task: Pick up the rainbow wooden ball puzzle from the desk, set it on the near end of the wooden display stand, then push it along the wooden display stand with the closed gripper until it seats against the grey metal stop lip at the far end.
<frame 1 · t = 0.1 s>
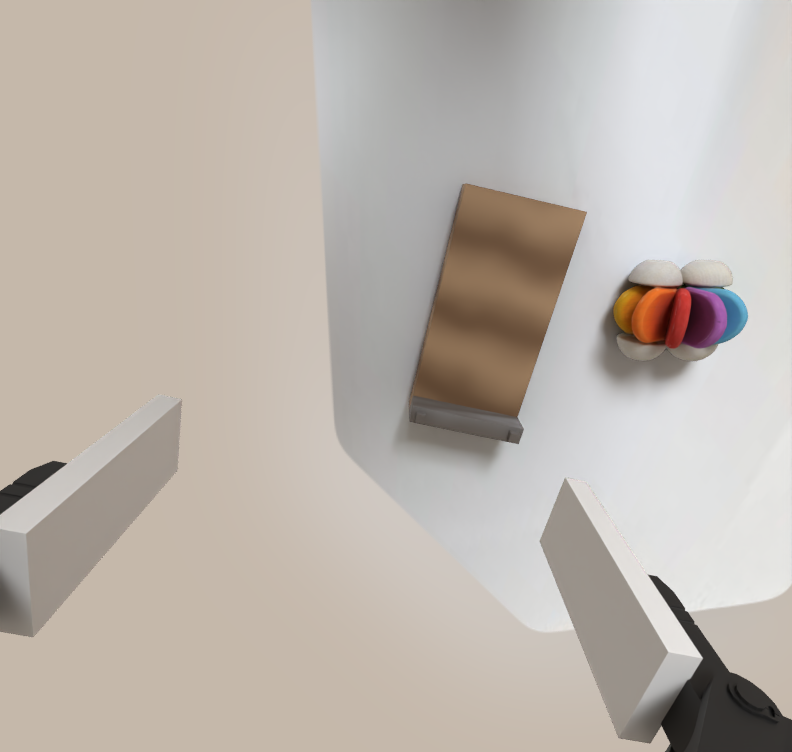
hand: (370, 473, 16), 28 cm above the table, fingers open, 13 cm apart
wooden display stand: (487, 313, 42), on the table
rainbow wooden ball puzzle: (659, 305, 42), on the table
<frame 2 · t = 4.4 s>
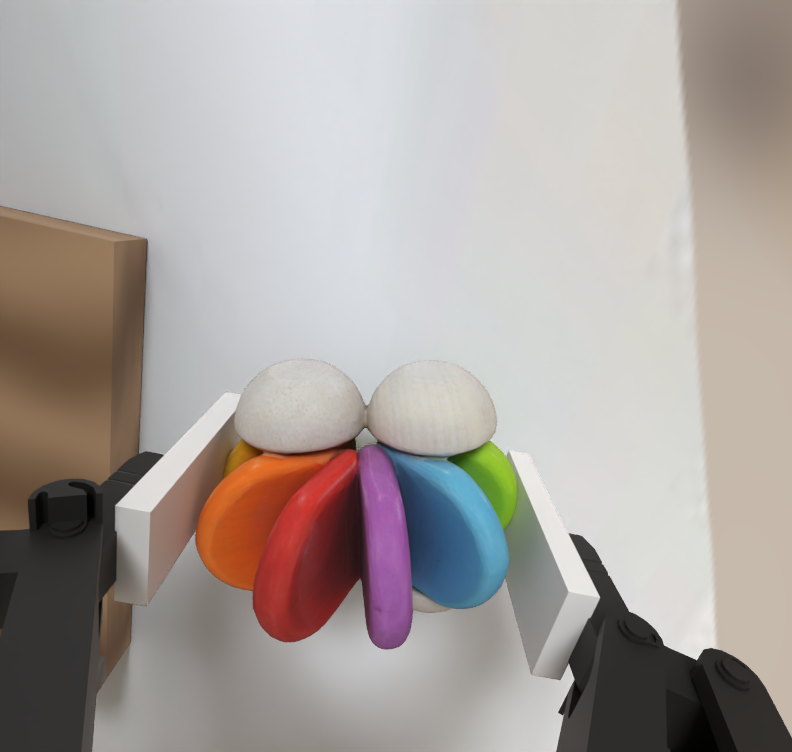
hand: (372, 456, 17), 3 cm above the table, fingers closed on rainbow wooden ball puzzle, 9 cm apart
wooden display stand: (20, 449, 20), on the table
rainbow wooden ball puzzle: (372, 454, 17), point 2 cm above the table, touching gripper
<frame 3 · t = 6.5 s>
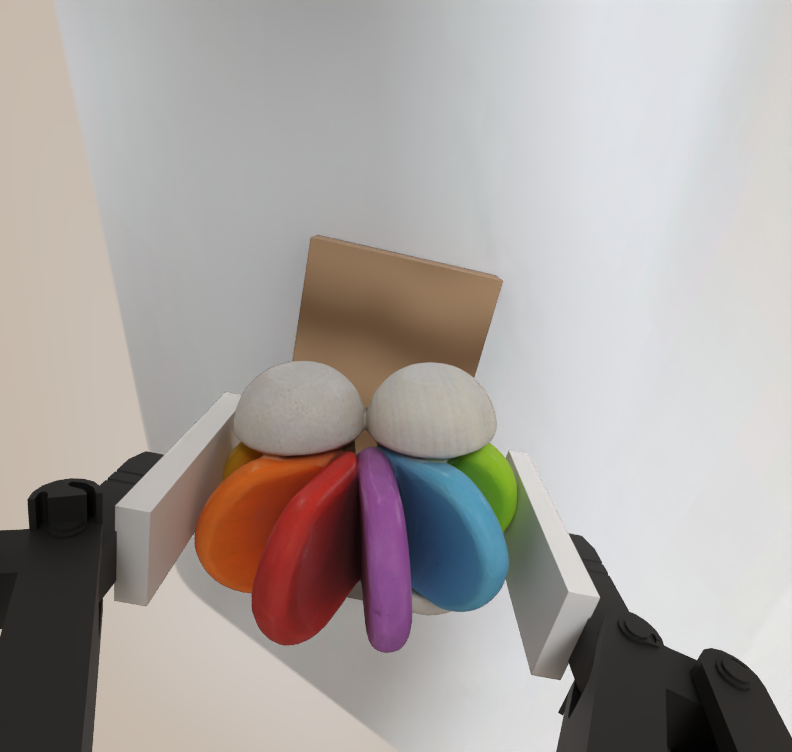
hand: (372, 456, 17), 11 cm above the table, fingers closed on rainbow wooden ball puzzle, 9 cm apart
wooden display stand: (372, 416, 29), on the table
rainbow wooden ball puzzle: (372, 456, 17), point 11 cm above the table, touching gripper
when the fingers open (3 cm above the table, at t = 8.5 s): rainbow wooden ball puzzle stays where it is, resting on wooden display stand.
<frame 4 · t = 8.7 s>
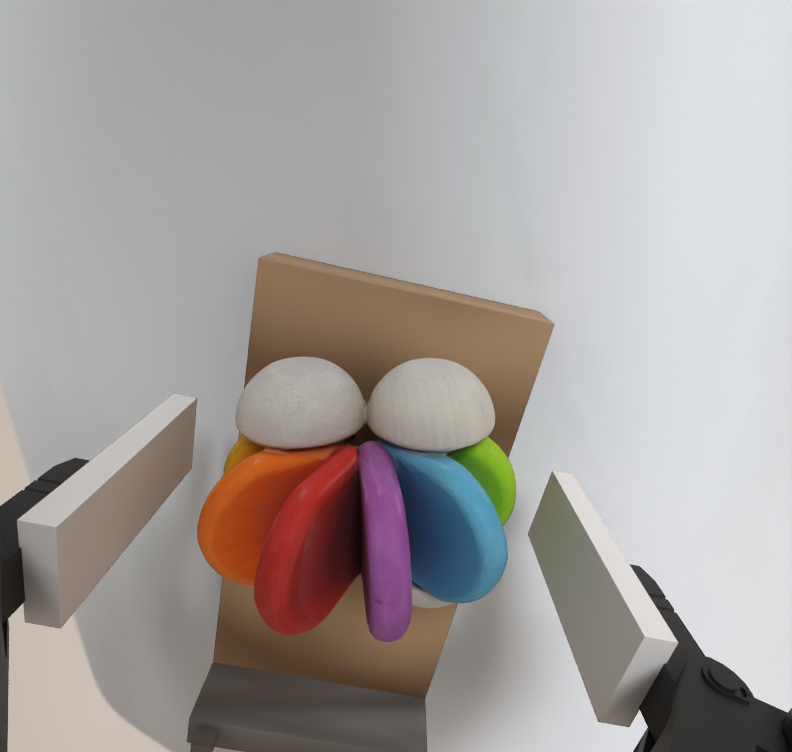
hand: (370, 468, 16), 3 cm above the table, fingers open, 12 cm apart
wooden display stand: (358, 504, 21), on the table
rainbow wooden ball puzzle: (372, 452, 18), point 2 cm above the table, touching wooden display stand
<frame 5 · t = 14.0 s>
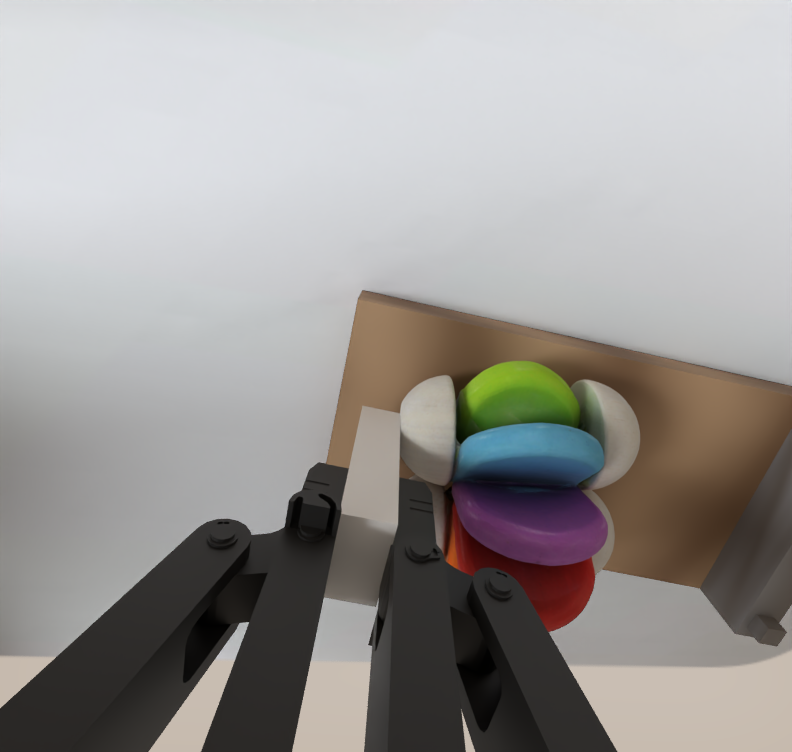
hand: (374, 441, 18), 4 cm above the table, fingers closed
wooden display stand: (550, 441, 22), on the table
rainbow wooden ball puzzle: (495, 451, 20), point 2 cm above the table, touching gripper
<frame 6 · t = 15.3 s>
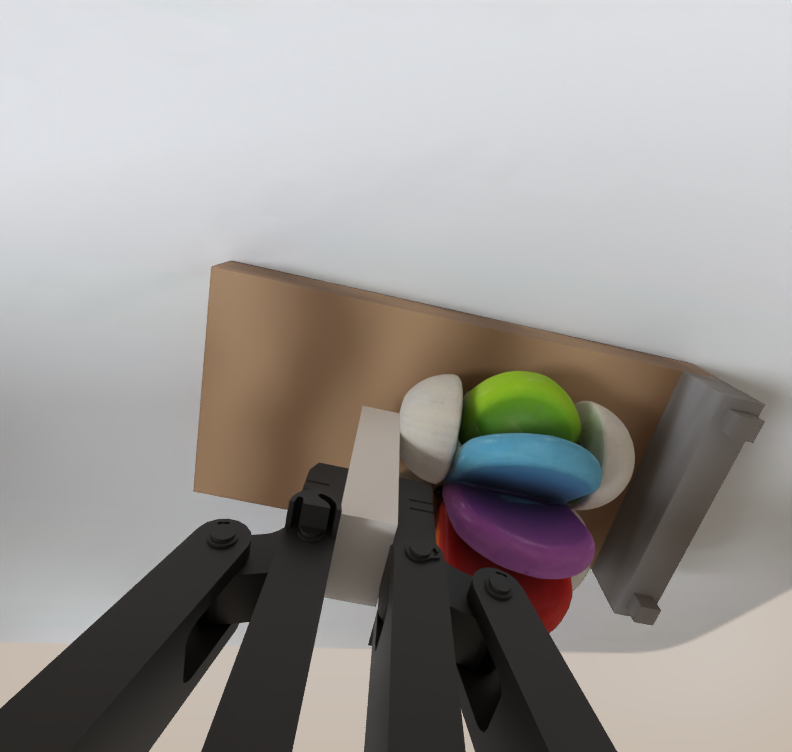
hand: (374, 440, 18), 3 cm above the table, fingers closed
wooden display stand: (437, 418, 21), on the table
rainbow wooden ball puzzle: (486, 458, 20), point 2 cm above the table, touching gripper, wooden display stand
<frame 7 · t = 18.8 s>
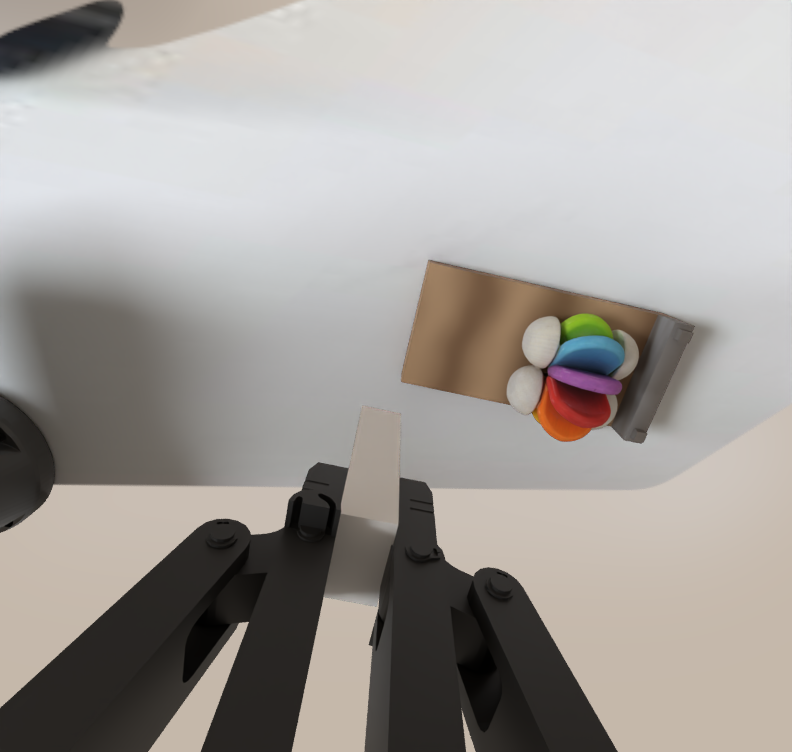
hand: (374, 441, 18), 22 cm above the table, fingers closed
wooden display stand: (528, 344, 40), on the table
rainbow wooden ball puzzle: (561, 364, 38), point 2 cm above the table, touching wooden display stand
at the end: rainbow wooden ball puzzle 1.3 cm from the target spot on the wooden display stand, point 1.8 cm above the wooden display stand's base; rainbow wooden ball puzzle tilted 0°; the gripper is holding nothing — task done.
